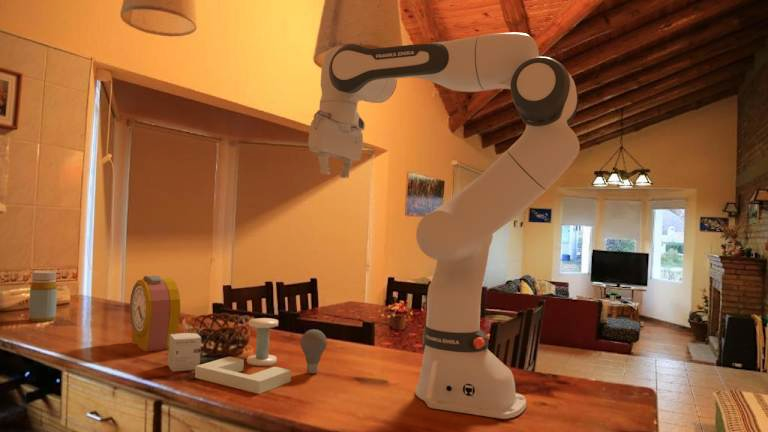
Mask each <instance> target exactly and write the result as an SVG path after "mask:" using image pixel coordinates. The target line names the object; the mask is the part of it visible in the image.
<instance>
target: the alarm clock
mask: <svg viewBox="0 0 768 432" xmlns="http://www.w3.org/2000/svg"><path fill="white" fill-rule="evenodd" d="M131 290H132V291H131V295H130V299H129V317H130V323H131V343H132V342H134V343H135V344H137V345H138V346H140V347H141V348H142V349H141V348H140V347H139V348H140V349H141V350H143V349H144V350H145V351H144V350H143V351H144V352H146V351H147V352H154V351H153V350H155V351H161V350H162V349H163V350H169V336H170V334H179V324H180V317H181V316H180V315H181V297H180V293H179V292H180V291H179V288H178V285H177V283H176V281H175V280H174V279H173V278H161V276H159V275H144V276H143V279H138V280H136V281H135V284H133V288H132V289H131ZM134 343H133V344H134ZM135 344H134V345H135ZM137 345H136V346H137ZM138 346H137V347H138Z"/></svg>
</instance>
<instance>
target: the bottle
mask: <svg viewBox="0 0 768 432" xmlns="http://www.w3.org/2000/svg"><path fill="white" fill-rule="evenodd" d="M31 275H32V276H31V278H32V281H31V282H32V283H31V285H30V287H29V300H28V301H29V304H28V320H29V321H30V322H31V323H48V322H53V321H54V320H55V319H56V316H57V302H58V301H57V296H58V285H57V281H56V280H57V271H55V270H34V271H32V274H31Z"/></svg>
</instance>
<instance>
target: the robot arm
mask: <svg viewBox="0 0 768 432" xmlns="http://www.w3.org/2000/svg"><path fill="white" fill-rule="evenodd" d="M320 72H321V73H320V90H321V97H320V100H319V109H318V110H317V111H316V112H315V113H314V114H313V119H312V121H311V122H310V127H309V134H308V142H307V145H308V149H309V151H310V152H313V153H317V159H318V162H319V166H320V174H321V175H330V174H331V166H330V165H329V159H330V157H332V158H336V159H339V160H341V164H342V167H341V170H339V177H340V178H341V179H349V178H350V170H351V169H352V166H353V162H359V161H360V159H361V157H362V153H363V145H364V139H363V138H364V136H363V135H364V134H363V132H362V131H364V130H365V127H366V125H365V121H364V120H363V119H362V117H361V116H360V113H359V112H358V103H359V102H361V101H362V102H367V103H370V104H371V103H372V104H381V103H385V102H386V101H388V100H389V99H390V98H391V97H392V95H393V94H394V93H395V91H396V88H397V79H407V78H409V79H410V78H411V79H412V78H413V79H421V80H425V81H429V82H432V83H434V84H437V85H438V86H440V87H444V88H446V89H448V90H451V91H454V92H463V93H465V92H466V93H474V92H475V93H477V92H486V91H492V90H501V89H502V90H503V89H505V90H510V95H511V99H512V102H513V104H514V106H515V108H516V110H517V111H518V115H519V116H520V118H521V120H522V122H523V123H524V124H525V125H526V126H525V128H524V129H525V130H524V131H523V133H522V135H521V136H520V137H519V138H518V139H517V140H516V141H515V142H514V143H513V144H512V145H511V146H510V147H509V148H508V149H507V150H505V151H504V152H503V153H502V155H500V157H498V158H497V159H496V160H495V161H494V162H493V163H492V164H491V165H490V166H489V167H488V168H487V169H485V171H483V172H482V174H481V175H479V176H478V177H476V179H474V180H473V181H472V182H471V183H469V184H468V185H466V186H465V187H463V188H462V189H461V190H459V191H457V192H456V193H455V194H454V195H452V196H451V197H449V198H448V199H447V200H445V202H443V203H442V204H441V205H439V206H437V208H435V209H434V210H432V211H430V212H428V213H427V214H425V215H424V216H423V217H422V218H421V220H420V221H419V223H418V225H417V228H416V242H417V245H418V247H419V249H420V250H421V251H422V253H423V254H425V256H427V257H429V258H431V259H433V260H434V261H436V263H435V268H434V272H433V275H432V279H431V281H430V283H429V285H428V288H427V300H426V324H425V325H424V327H423V334H422V351H423V358H422V364H421V370H420V375H419V378H418V382H417V386H416V388H415V392H414V393H415V395H416V397H418V398H419V399H420V400H422V401H424V402H425V404H426V406H427V407H428V408H430V409H434V410H442V411H447V412H448V411H449V412H455V413H463V414H470V415H474V416H481V417H482V416H483V417H488V418H496V419H501V420H502V419H503V420H506V419H507V420H508V419H513V418H515V417H517V416H519V415H520V414H522V413H524V411H525V409H526V408H527V399H526V397H525V396H524V395H522V394H521V393H518V392H516V383H515V377H514V374H513V372H512V370H511V369H510V368H509V367H508V366H506V365H505V364H504V363H503V362H502V361H501V360H500V359H499V358H498V357H496V355H495V354H494V353H493V352H491V351H490V350H489V340H490V336H491V334H490V333H487V334H486V333H485V332H484V331H483V330H482V329H481V328H480V325H481V304H482V292H483V291H482V290H483V284H484V280H485V279H484V278H485V276H486V275H485V274H486V271H487V270H486V269H487V264H488V258H489V253H490V247H491V244H492V241H493V235H494V234H495V233H496V232H497V231H499V230H500V229H501V228H503V227H504V226H506V225H507V224H508V223H510V222H512V221H513V220H515V219H516V218H518V216H520V215H521V214H522V213H523V212H524V211H525V210H526V209H527V208H529V207H530V206H531V205H532V204H533V203H535V201H536V200H538V198H540V197H541V196H542V195H543V194H544V193H545V192H546V191H547V190H549V189H550V188H551V187H552V186H553V185H554V184H555V183H556V181H558V180H559V179H560V178H561V177H562V176H563V175H564V173H565V172H567V170H568V169H569V167H570V166H571V165H572V164H573V163H574V161H575V159H576V158H577V157H578V156H579V153H580V141H579V138H578V136H577V135H576V133H575V132H574V130H573V129H572V128H571V127H570V126H569V124H568V123H570V122H571V121H572V119H573V118H574V117H575V116H576V113H577V112H578V108H579V104H580V103H579V101H580V100H579V99H580V98H579V97H580V96H579V94H578V91H577V86H576V84H575V83H576V82H575V81H574V79H573V78H572V75H571V74H570V72H568V70H567V69H566V66H564V65H563V64H562V63H560V61H557V60H556V59H554V58H551V57H547V56H540V51H539V48H538V45H537V43H536V41H535V40H534V38H533V37H532V36H531V35H529V34H527V33H524V32H499V33H498V32H497V33H496V32H495V33H487V34H482V35H478V36H477V35H476V36H471V37H464V38H459V39H452V40H446V41H438V42H432V43H431V42H430V43H418V44H408V45H398V46H397V45H396V46H388V47H377V48H369V47H365V46H362V45H359V44H355V43H348V44H345V45H337V46H334V47H332V48H330V49H328V50H326V53H325V54H324V55H323V60H322V64H321V71H320Z"/></svg>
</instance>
